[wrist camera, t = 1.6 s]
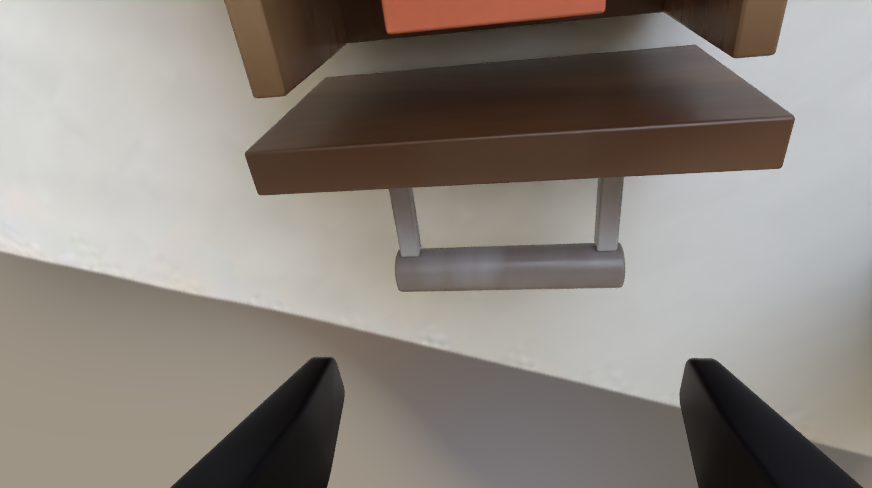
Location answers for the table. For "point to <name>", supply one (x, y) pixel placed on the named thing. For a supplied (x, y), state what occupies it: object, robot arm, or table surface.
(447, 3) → the orange-red cube
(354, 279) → the table surface
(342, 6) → the drawer
